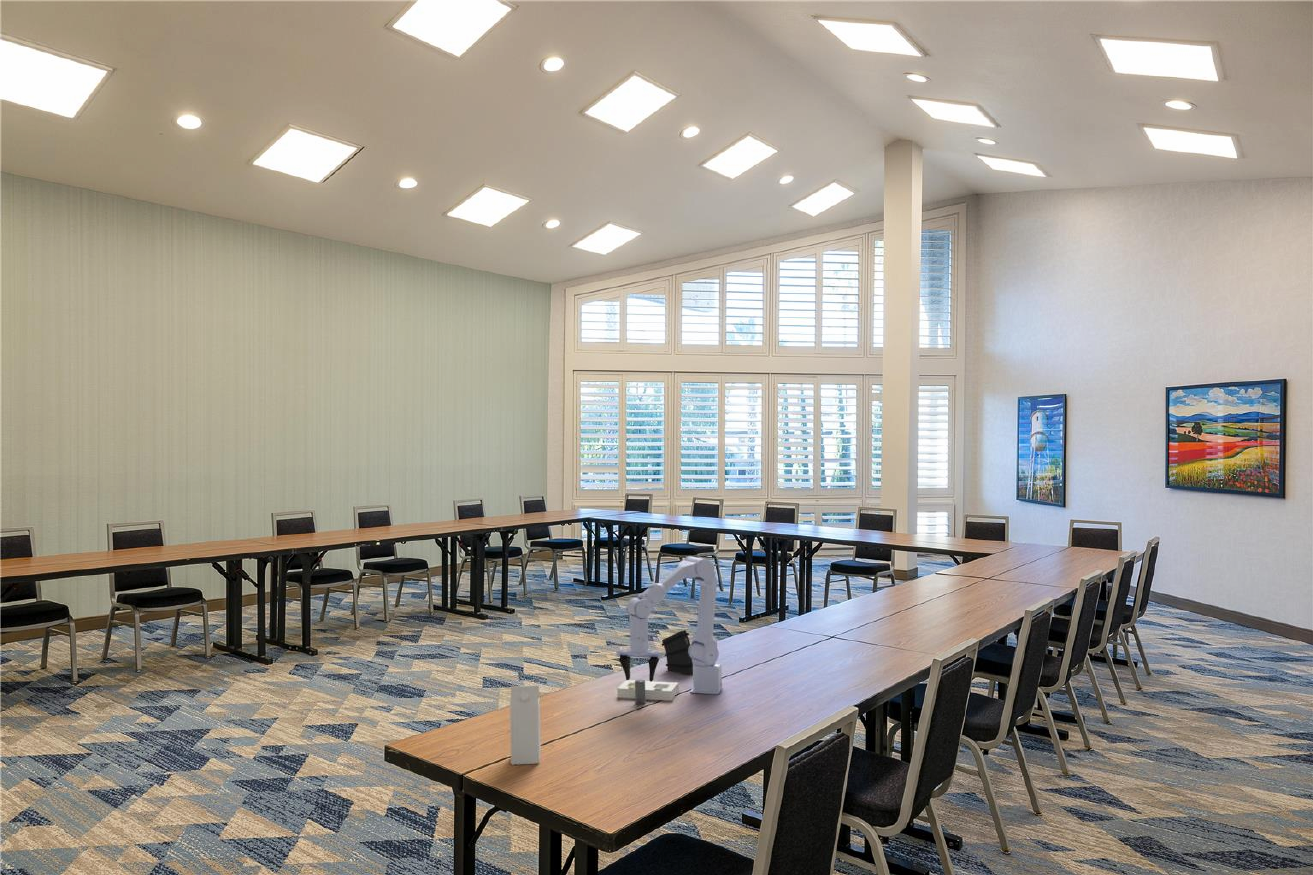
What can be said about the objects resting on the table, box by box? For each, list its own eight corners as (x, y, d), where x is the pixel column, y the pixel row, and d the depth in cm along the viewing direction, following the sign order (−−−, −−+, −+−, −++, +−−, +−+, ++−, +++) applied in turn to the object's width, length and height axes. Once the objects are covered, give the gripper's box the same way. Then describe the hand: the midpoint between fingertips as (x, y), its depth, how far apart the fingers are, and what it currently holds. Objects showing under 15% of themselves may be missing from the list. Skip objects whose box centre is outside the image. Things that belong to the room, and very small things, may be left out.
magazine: (694, 672, 293) (680, 631, 298) (670, 682, 302) (657, 642, 307) (701, 670, 296) (687, 629, 301) (677, 680, 304) (664, 640, 309)
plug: (646, 702, 265) (646, 679, 265) (643, 705, 262) (643, 682, 262) (636, 701, 266) (636, 679, 266) (634, 704, 263) (633, 682, 263)
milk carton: (513, 755, 220) (512, 683, 221) (540, 753, 221) (539, 681, 221) (511, 765, 213) (509, 690, 214) (539, 763, 214) (537, 689, 214)
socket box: (678, 691, 276) (678, 681, 276) (671, 700, 266) (671, 690, 266) (626, 688, 280) (626, 678, 280) (617, 697, 271) (617, 687, 271)
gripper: (613, 638, 262) (614, 682, 262) (658, 640, 259) (658, 684, 258) (619, 633, 269) (620, 676, 269) (663, 635, 265) (664, 678, 265)
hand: (639, 680), depth 264 cm, fingers open, 7 cm apart
